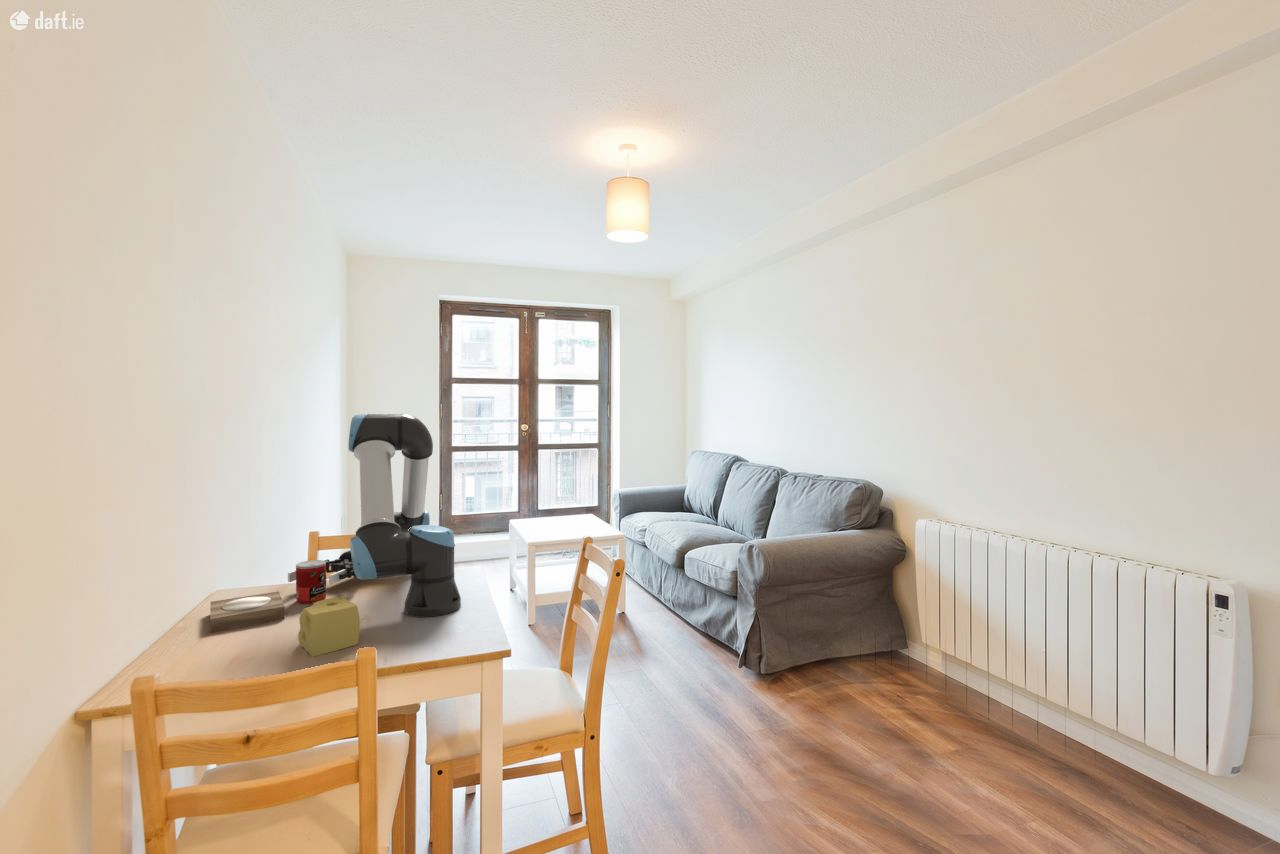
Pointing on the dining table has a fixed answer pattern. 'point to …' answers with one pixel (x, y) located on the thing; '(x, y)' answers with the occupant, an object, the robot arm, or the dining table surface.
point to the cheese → (329, 626)
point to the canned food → (310, 581)
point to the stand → (246, 611)
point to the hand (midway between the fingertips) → (309, 578)
